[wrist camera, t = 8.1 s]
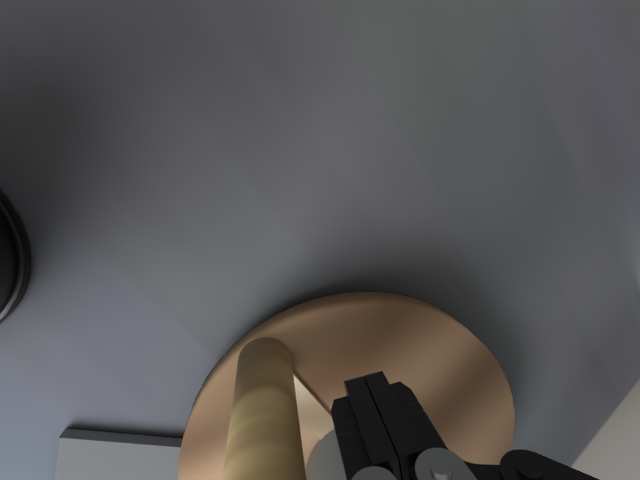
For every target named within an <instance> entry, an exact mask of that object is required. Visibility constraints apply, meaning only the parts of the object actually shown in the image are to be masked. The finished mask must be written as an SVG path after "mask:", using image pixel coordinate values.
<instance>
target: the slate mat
mask: <svg viewBox="0 0 640 480" xmlns="http://www.w3.org/2000/svg"><path fill="white" fill-rule="evenodd" d="M182 440H183V438H172V437H160V436H148V435H137V434H125V433H113V432H102V431H90V430H78V429H65V430H64V431H63V433H62V434H61V436H60V437H59V441H58V450H57V458H56V467H55V475H54V480H178V461H179V455H180V450H181V444H182Z"/></svg>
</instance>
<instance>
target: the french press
mask: <svg viewBox="0 0 640 480" xmlns="http://www.w3.org/2000/svg"><path fill="white" fill-rule="evenodd" d="M30 263H31V255H30V249H29V243H28V237H27V235H26V232H25V230H24V227H23V225H22V222H21V220H20V217H19V216H18V214H17V213H16V211H15V210H14V208H13V206H12V205H11V203H10V202H9V200H8V199H7V197H6V196H5V195H4V194H3V193H2V192H1V191H0V323H1V322H2V321H3V320H4V319H5V318H6V317H7V316H8V315H9V314H10V313H11V312H12V311H13V310H14V309H15V307H16V306H17V304H18V302H19V301H20V299H21V298H22V296H23V294H24V292H25V289H26V286H27V283H28V280H29V276H30Z"/></svg>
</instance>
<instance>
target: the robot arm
mask: <svg viewBox="0 0 640 480" xmlns="http://www.w3.org/2000/svg"><path fill="white" fill-rule="evenodd" d="M344 386H345V391H346V396H345V397H341V398H338V399H334V401H333V405H332V408H331V415H332V420H333V424H334V429H335V433H336V438H337V442H338V446H339V451H340V455H341V459H342V463H343V467H344V471H345V476H346V480H599V479H597V478H594V477H592V476H590V475H587V474H585V473H583V472H580V471H578V470H575V469H573V468H571V467H568V466H566V465H564V464H561V463H559V462H556V461H554V460H552V459H549V458H547V457H545V456H542V455H540V454H537V453H535V452H532V451H528V450H521V449H520V450H512V451H509V452H507V453H506V454H504V455H503V457H502V458H501V461H500V465H489V464H474V463H470V462H467V461H464V460H462V459H461V458H460V457H459V456H458V455H457V454H455V453H454V452H452V451H450V450H449V449H448V448H447V447H446V445H445V443H444V442H443V440H442V439H441V437H440V435H439V434H438V432H437V430H436V429H435V427H434V425H433V424H432V422H431V421H430V419H429V417H428V416H427V414H426V412H424V409H423V408H422V406H421V404H420V403H419V402H418V399H417V398H416V396H415V395H414V393H413V391H412V390H411V389H410V388H409V387H407V386H406V385H405V384H403V383H402V382H396V383H392V384H389V382H388V380H387V378H386V376H385V375H384V373H383V371H379V372H375V373H372V374H368V375H364V376H361V377H357V378H353V379H350V380H346V381H344Z"/></svg>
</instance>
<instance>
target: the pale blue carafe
mask: <svg viewBox="0 0 640 480" xmlns="http://www.w3.org/2000/svg"><path fill="white" fill-rule="evenodd" d="M306 478H307V480H346V476H345V471H344V467H343V463H342V459H341V455H340V451H339V446H338V442H337V438H336V433H335V430H334V431H332V432H331V433H329V434H328V435H326V436H325V437H324V438H323V439H322V440H321V441H320V442H319V443H318V444H317V445H316V446H315V448H314V449H313V451H312V452H311V454H310V456H309V459H308V462H307V466H306Z"/></svg>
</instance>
